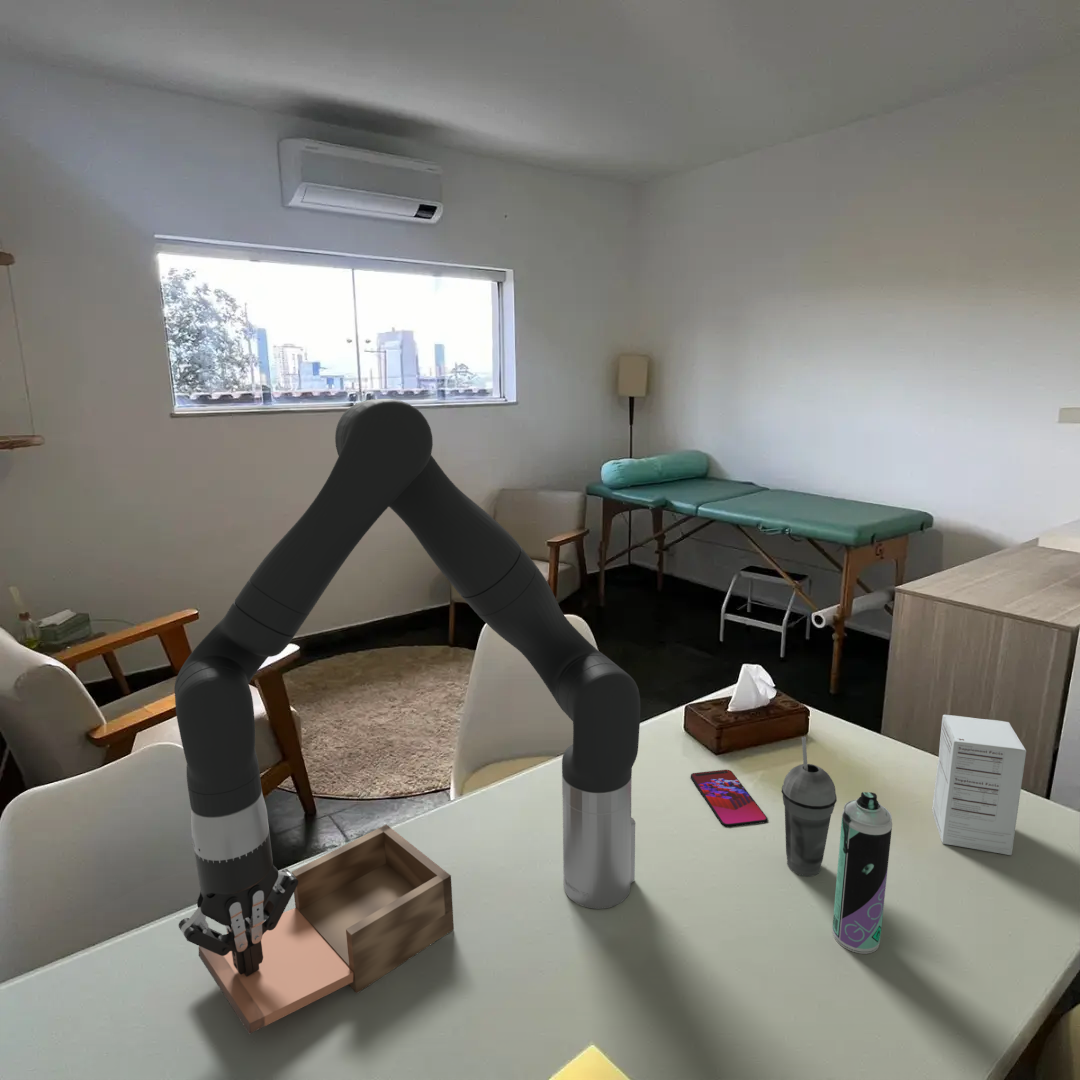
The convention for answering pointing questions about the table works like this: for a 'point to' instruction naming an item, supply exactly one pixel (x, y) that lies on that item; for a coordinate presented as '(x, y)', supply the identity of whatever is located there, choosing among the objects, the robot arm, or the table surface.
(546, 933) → the table surface
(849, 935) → the spray can
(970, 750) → the supplement box
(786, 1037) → the table surface
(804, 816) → the beverage cup
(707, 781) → the smartphone
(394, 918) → the box
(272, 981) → the panel
